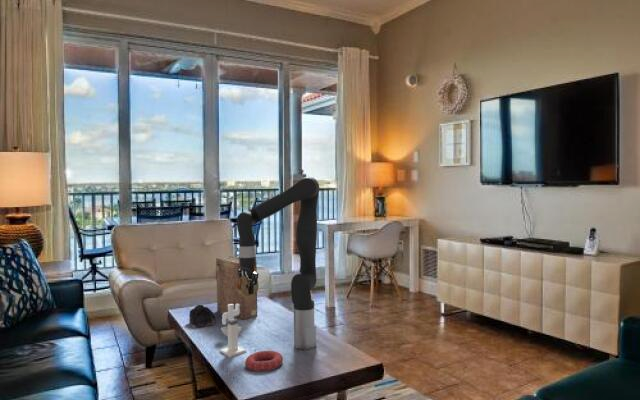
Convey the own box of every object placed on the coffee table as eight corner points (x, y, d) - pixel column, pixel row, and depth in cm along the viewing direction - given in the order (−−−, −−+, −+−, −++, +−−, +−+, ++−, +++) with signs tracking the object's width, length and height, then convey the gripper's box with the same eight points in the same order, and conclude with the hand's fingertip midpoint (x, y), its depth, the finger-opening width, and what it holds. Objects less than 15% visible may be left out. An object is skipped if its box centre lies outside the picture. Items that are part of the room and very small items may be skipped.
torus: (268, 354, 200) (268, 346, 199) (290, 364, 190) (290, 355, 190) (237, 365, 188) (237, 357, 188) (259, 376, 178) (259, 367, 178)
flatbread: (240, 299, 207) (239, 277, 206) (236, 298, 210) (235, 276, 209) (260, 295, 213) (259, 274, 213) (256, 294, 216) (255, 272, 216)
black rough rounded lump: (211, 329, 235) (213, 309, 235) (184, 327, 234) (186, 307, 235) (217, 322, 248) (218, 304, 248) (191, 321, 248) (192, 302, 248)
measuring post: (246, 352, 202) (245, 320, 201) (230, 357, 197) (229, 324, 196) (236, 347, 208) (235, 316, 207) (220, 351, 202) (219, 320, 202)
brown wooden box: (217, 310, 264) (215, 258, 262) (230, 307, 271) (229, 256, 269) (243, 320, 246) (242, 264, 244) (257, 316, 253) (256, 261, 251)
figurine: (218, 335, 223) (218, 304, 222) (234, 330, 230) (234, 300, 229) (227, 339, 218) (227, 307, 217) (244, 334, 225) (243, 303, 224)
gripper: (263, 256, 208) (264, 294, 209) (245, 252, 218) (246, 289, 219) (249, 258, 203) (250, 297, 204) (231, 254, 213) (232, 292, 214)
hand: (248, 293), depth 211 cm, fingers closed on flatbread, 3 cm apart
